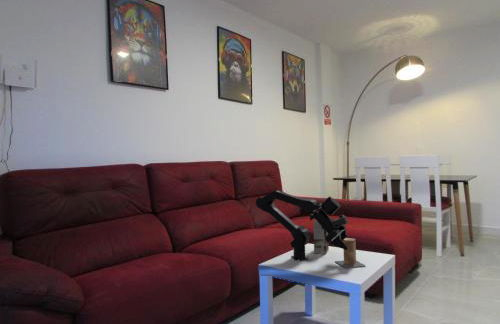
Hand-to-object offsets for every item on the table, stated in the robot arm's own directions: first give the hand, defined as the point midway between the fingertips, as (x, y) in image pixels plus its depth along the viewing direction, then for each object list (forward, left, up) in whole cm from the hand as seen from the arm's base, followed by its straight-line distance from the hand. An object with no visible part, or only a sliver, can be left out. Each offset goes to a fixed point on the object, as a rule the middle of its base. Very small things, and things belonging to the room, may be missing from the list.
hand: (349, 247), depth 163 cm
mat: (0, 0, -8) cm, 8 cm away
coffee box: (-24, -4, -8) cm, 25 cm away
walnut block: (0, 0, -7) cm, 7 cm away
